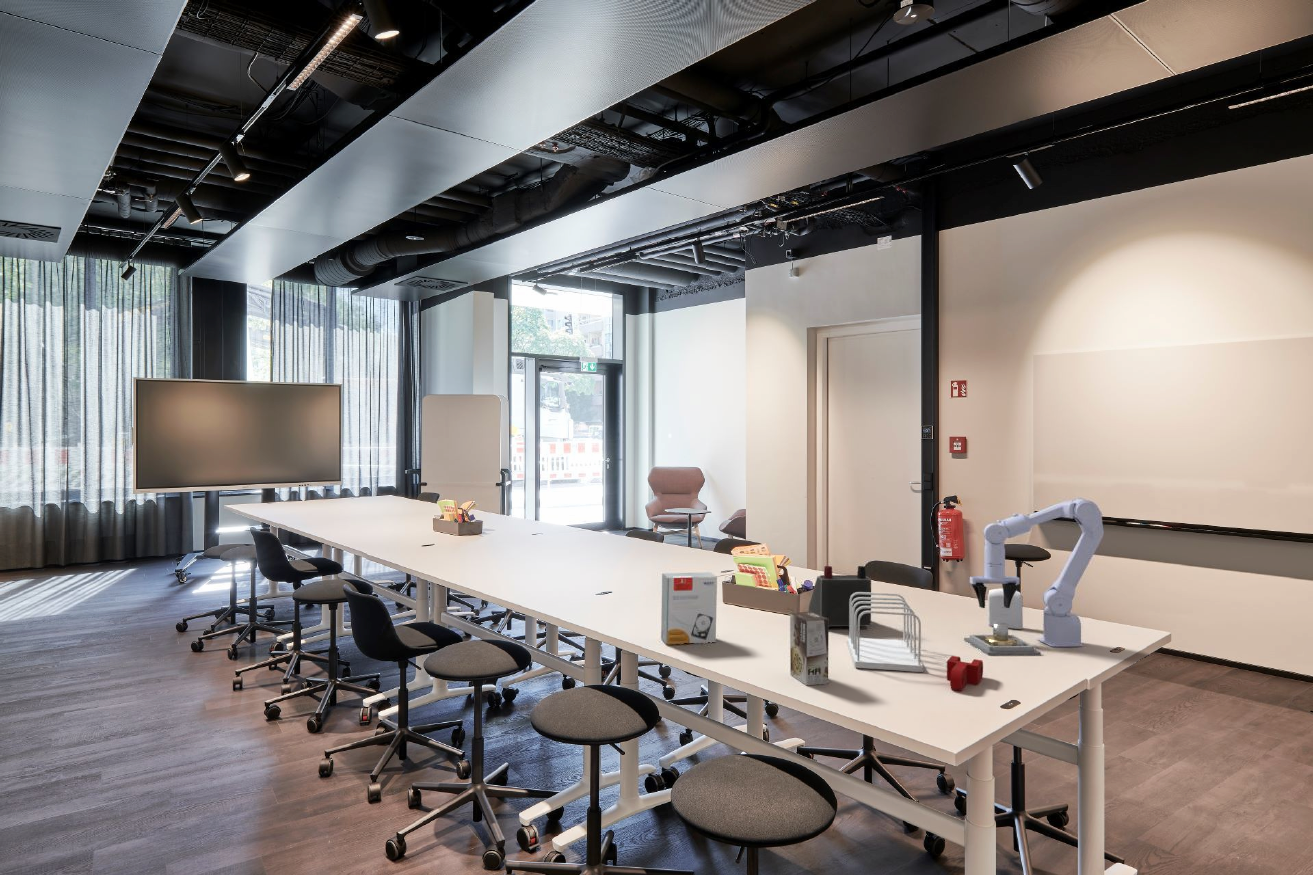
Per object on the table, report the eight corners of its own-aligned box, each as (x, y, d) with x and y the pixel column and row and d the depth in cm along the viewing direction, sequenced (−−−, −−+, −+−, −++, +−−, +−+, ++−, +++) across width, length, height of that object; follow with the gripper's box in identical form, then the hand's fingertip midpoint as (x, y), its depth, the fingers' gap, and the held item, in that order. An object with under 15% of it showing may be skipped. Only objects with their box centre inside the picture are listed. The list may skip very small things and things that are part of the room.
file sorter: (923, 673, 189) (924, 613, 189) (854, 669, 192) (855, 610, 192) (907, 646, 213) (907, 593, 214) (846, 643, 216) (846, 590, 216)
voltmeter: (855, 617, 247) (855, 558, 247) (871, 630, 231) (871, 567, 231) (808, 617, 247) (808, 558, 247) (820, 630, 230) (821, 567, 231)
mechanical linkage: (953, 672, 190) (953, 653, 190) (983, 677, 186) (983, 658, 186) (939, 690, 176) (939, 669, 176) (971, 695, 173) (971, 674, 173)
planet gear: (1007, 640, 217) (1007, 620, 217) (1023, 648, 208) (1023, 627, 208) (978, 640, 217) (978, 620, 217) (992, 648, 208) (993, 627, 208)
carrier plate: (1013, 640, 220) (1013, 633, 220) (1040, 655, 205) (1040, 647, 205) (964, 640, 219) (964, 633, 219) (988, 655, 204) (988, 648, 204)
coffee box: (829, 683, 180) (829, 618, 180) (806, 686, 178) (806, 620, 178) (811, 672, 189) (811, 610, 189) (789, 674, 187) (789, 611, 187)
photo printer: (987, 626, 236) (987, 588, 236) (987, 623, 240) (987, 586, 240) (1022, 630, 231) (1022, 591, 231) (1022, 627, 235) (1022, 589, 235)
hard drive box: (666, 645, 212) (666, 577, 212) (660, 638, 220) (660, 572, 220) (717, 643, 215) (717, 575, 215) (709, 636, 223) (710, 571, 223)
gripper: (1011, 560, 226) (1011, 604, 226) (965, 560, 226) (965, 604, 226) (1023, 564, 219) (1023, 609, 219) (975, 564, 219) (975, 609, 219)
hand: (994, 607), depth 222 cm, fingers open, 7 cm apart
